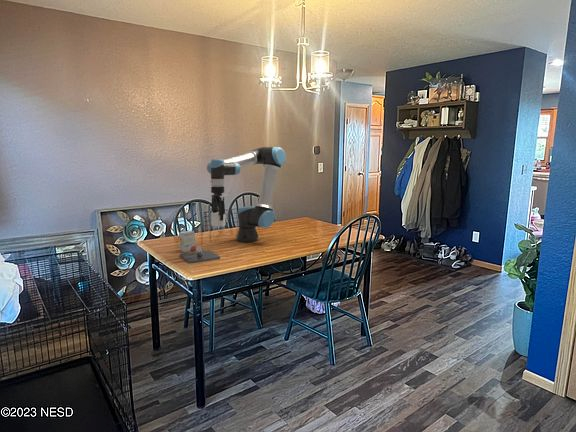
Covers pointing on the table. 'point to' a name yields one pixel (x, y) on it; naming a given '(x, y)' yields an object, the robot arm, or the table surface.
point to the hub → (199, 256)
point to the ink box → (187, 241)
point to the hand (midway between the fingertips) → (218, 224)
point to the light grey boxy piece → (216, 219)
